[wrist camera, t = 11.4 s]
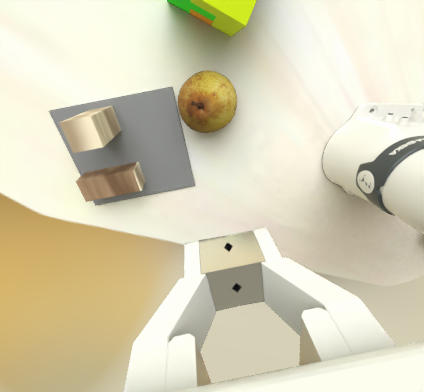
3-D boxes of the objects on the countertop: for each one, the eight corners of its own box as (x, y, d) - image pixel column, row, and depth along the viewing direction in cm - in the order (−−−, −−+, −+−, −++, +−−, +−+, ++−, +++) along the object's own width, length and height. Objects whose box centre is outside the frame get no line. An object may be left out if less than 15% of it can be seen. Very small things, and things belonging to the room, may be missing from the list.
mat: (171, 86, 37) (171, 86, 37) (194, 184, 46) (194, 185, 46) (50, 110, 37) (48, 111, 37) (96, 204, 46) (95, 205, 46)
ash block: (112, 105, 37) (90, 116, 29) (121, 130, 39) (103, 147, 31) (88, 110, 37) (58, 122, 29) (98, 134, 39) (73, 153, 31)
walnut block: (134, 169, 39) (75, 181, 39) (141, 190, 41) (86, 201, 41) (138, 161, 42) (85, 172, 42) (145, 181, 44) (94, 191, 44)
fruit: (240, 108, 40) (260, 122, 30) (196, 136, 42) (200, 158, 31) (216, 58, 36) (228, 54, 26) (168, 91, 38) (161, 99, 27)
